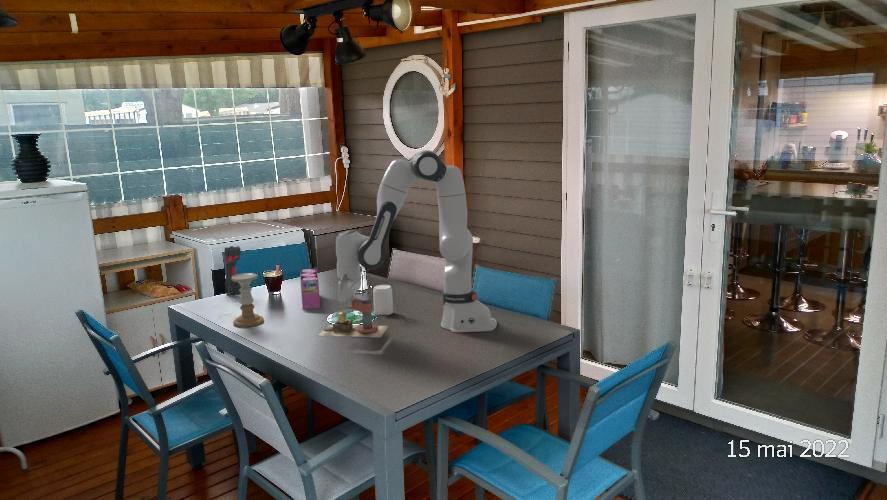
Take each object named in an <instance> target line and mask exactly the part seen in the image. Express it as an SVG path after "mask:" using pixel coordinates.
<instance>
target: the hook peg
mask: <svg viewBox="0 0 887 500" xmlns="http://www.w3.org/2000/svg"><path fill="white" fill-rule="evenodd" d="M337 320H338V323H339V324H341V325H347V312H346V311H339V312H337Z"/></svg>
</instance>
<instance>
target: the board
mask: <svg viewBox="0 0 887 500" xmlns="http://www.w3.org/2000/svg"><path fill="white" fill-rule="evenodd" d="M362 325H363V324H361V325H359V324H353V328H352V329H351V330H350V331H349V332H348V333H340V332H333V331H324V330H322V331H320V332H319V333H318V335H317V336H321V337H324V336H325V337H326V336H327V337H355V338H357V337H358V338H359V337H360V338H382V336H383V335H384V334H385V332H386V331H387V329H388V328H389V327H390V325H377V326H378V330H377V331H376V332H373V333H360V332H358V331H357V328H358V327H359V326H362ZM326 327H333V324H331V323H330V324H328V325H327V326H326Z"/></svg>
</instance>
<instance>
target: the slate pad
mask: <svg viewBox="0 0 887 500" xmlns="http://www.w3.org/2000/svg"><path fill="white" fill-rule="evenodd" d="M323 330H324V331H333V327H327V326H325V327H324V328H323ZM323 330H322V331H323Z"/></svg>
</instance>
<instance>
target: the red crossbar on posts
mask: <svg viewBox="0 0 887 500" xmlns="http://www.w3.org/2000/svg"><path fill="white" fill-rule="evenodd" d="M346 308H347V309H350V310H353V311H356V312H360V313H361V316H362V324H361V325H362V326H359V327H358V328H357V331H358V332H360V333H373V332H376V331H377V330H378V326H379V325H375V324H373V316H372V315H373V314H372V313H373V303H372V300H371V299H364V300H363V299H360V298H357V297H354V299H353V306H352V307H348V306H347V305H346Z"/></svg>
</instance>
